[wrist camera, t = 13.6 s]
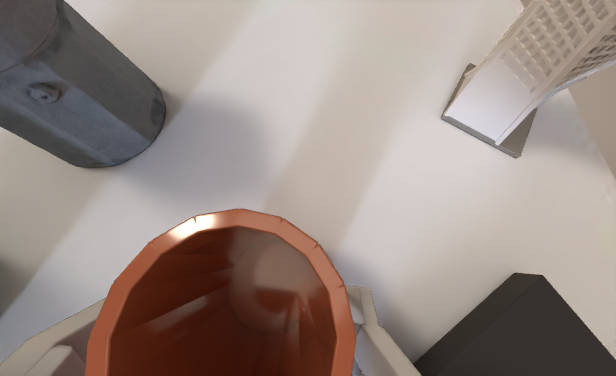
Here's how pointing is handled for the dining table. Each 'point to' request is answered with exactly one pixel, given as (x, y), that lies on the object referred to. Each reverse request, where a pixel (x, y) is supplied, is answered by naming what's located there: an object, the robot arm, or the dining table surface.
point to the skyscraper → (532, 68)
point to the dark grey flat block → (519, 337)
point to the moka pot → (72, 87)
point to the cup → (226, 304)
